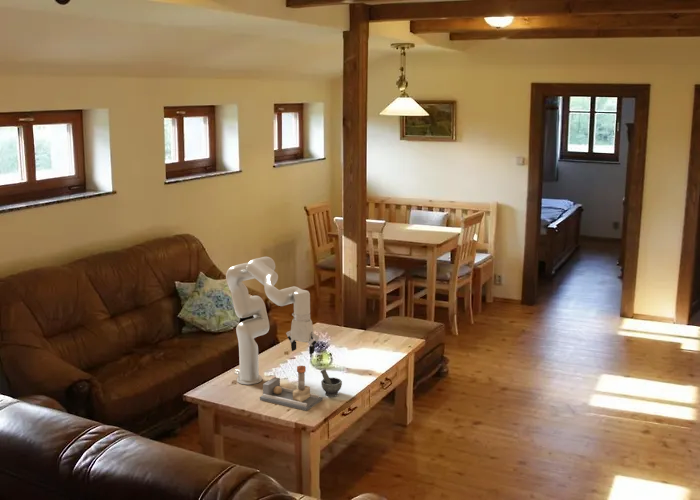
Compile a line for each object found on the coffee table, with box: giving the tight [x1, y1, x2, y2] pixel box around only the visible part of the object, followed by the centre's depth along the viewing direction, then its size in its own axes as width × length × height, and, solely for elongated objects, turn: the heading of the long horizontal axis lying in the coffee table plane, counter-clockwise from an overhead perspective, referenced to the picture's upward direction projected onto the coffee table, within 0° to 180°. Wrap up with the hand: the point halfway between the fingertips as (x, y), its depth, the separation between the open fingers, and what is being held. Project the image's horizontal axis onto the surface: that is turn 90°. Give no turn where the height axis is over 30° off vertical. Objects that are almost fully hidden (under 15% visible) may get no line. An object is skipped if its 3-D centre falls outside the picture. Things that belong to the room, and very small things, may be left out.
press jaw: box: [293, 365, 311, 402], centre depth 370 cm, size 4×9×16 cm, turn 151°
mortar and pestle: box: [320, 368, 343, 398], centre depth 380 cm, size 11×9×12 cm
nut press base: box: [259, 376, 323, 412], centre depth 374 cm, size 26×14×8 cm, turn 62°
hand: (302, 351), depth 368 cm, fingers open, 9 cm apart
